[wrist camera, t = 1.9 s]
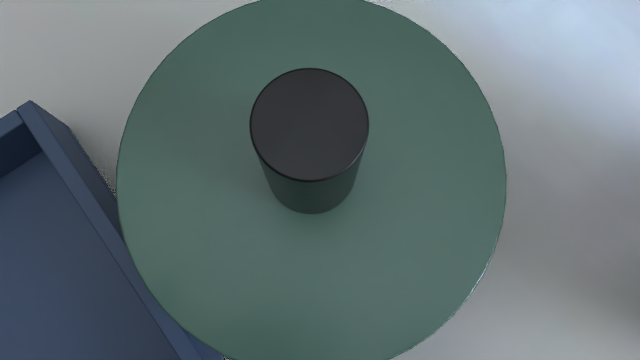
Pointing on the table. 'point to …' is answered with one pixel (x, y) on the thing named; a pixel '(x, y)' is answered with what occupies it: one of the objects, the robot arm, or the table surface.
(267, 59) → the lid
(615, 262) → the table surface
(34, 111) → the tray
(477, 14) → the table surface
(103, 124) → the table surface
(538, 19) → the table surface
